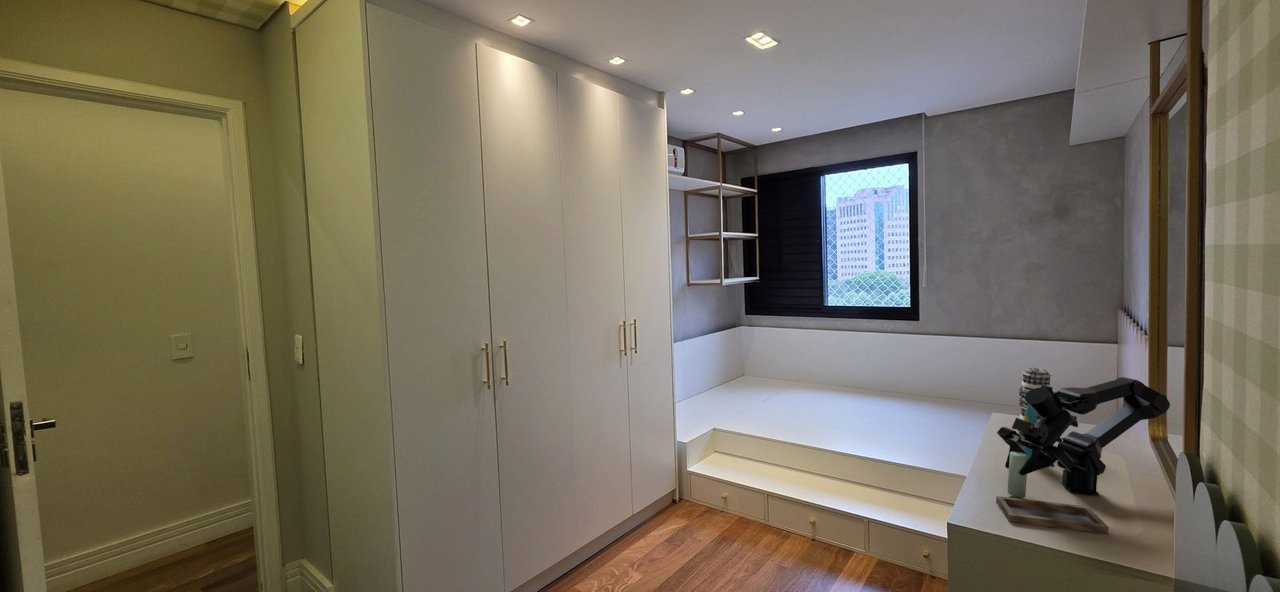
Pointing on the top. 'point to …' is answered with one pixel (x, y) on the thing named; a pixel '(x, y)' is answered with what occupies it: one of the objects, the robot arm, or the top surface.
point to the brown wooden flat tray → (1051, 515)
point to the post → (1017, 474)
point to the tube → (1030, 417)
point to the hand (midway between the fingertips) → (1013, 470)
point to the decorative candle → (1032, 387)
